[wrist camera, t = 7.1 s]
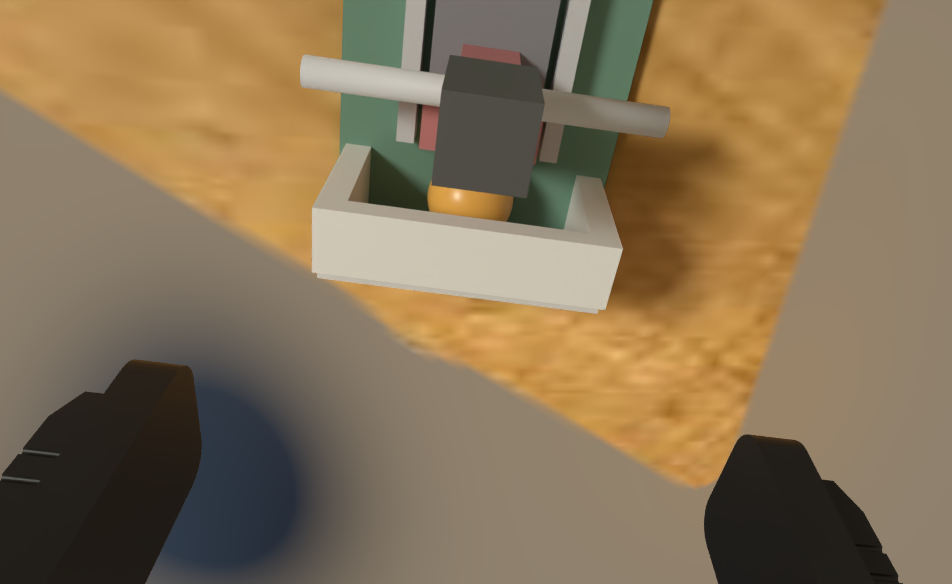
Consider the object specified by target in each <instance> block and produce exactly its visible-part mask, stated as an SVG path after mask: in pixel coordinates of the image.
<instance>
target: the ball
mask: <svg viewBox="0 0 952 584" xmlns="http://www.w3.org/2000/svg"><path fill="white" fill-rule="evenodd" d="M431 183H432V180H431V182H430V185H429V189H428V196H427V199H428V207H429V211H430V212H436V213H443V214H451V215H458V216H465V217H473V218H480V219H488V220H495V221H503V222H506V221H507V220H508V218H509V216H510V213H511V210H512V206H513V197H512V196H505V195H498V194H490V193H483V192H476V191H468V190H461V189H454V188H446V187H439V186H432V185H431Z"/></svg>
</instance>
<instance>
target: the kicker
mask: <svg viewBox="0 0 952 584" xmlns="http://www.w3.org/2000/svg"><path fill="white" fill-rule="evenodd" d="M560 1H561V0H436V7H435V17H434V28H433V38H432V49H431V59H430V70H429V72H423V71H416V70H409V69H402V68H395V67H388V66H382V65H375V64H368V63H361V62H354V61H347V60H340V59H333V58H326V57H319V56H312V55H303V58H302V61H301V67H300V82H301V86H302V87H303V88H310V89H318V90H325V91H332V92H339V93H346V94H353V95H360V96H367V97H374V98H381V99H388V100H395V101H402V102H409V103H416V104H423V109H422V120H421V131H420V142H419V149H425V150H432V151H435V155H434V164H433V173H432V183H431V185H432V186H439V187H446V188H454V189H461V190H468V191H476V192H483V193H490V194H498V195H505V196H512V197H520V198H527V194H528V189H529V184H530V179H531V173H532V168H533V165H535V163H536V158H537V153H538V147H539V142H540V137H541V132H542V127H543V122H550V123H557V124H564V125H571V126H578V127H585V128H592V129H599V130H606V131H613V132H620V133H628V134H635V135H642V136H649V137H656V138H663V137H664V136H665V134H666V132H667V129H668V126H669V121H670V108H669V107H666V106H659V105H652V104H645V103H638V102H631V101H624V100H617V99H610V98H603V97H596V96H589V95H582V94H575V93H569V92H562V91H555V90H548V89H544V85H545V80H546V75H547V69H548V64H549V59H550V53H551V48H552V43H553V38H554V32H555V27H556V22H557V17H558V11H559V6H560Z"/></svg>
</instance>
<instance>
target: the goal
mask: <svg viewBox="0 0 952 584" xmlns="http://www.w3.org/2000/svg"><path fill="white" fill-rule="evenodd" d="M370 161H371V147H370V146H362V145H355V144H348V143H346V145H345V146H344V148H343V150H342V152H341V154H340V156H339V158H338V160H337V162H336V163H335V165H334V167H333V169H332V171H331V173H330V175H329V177H328V179H327V180H326V182H325V184H324V186H323V188H322V190H321V192H320V194H319V196H318V198H317V199H316V201H315V203H314V205H313V207H312V273H317V278H322V279H329V280H337V281H345V282H353V283H361V284H368V285H376V286H384V287H392V288H400V289H408V290H415V291H423V292H431V293H439V294H447V295H454V296H462V297H470V298H478V299H486V300H493V301H501V302H509V303H517V304H525V305H532V306H540V307H548V308H556V309H564V310H572V311H579V312H587V313H595V314H597V313H598V310H599V309H601V310H605V309H606V305H607V302H608V298H609V295H610V292H611V288H612V285H613V281H614V278H615V275H616V271H617V268H618V264H619V261H620V257H621V254H622V251H623V248H622V244H621V241H620V238H619V235H618V232H617V229H616V225H615V222H614V219H613V216H612V213H611V210H610V206H609V203H608V200H607V197H606V194H605V191H604V187H603V184H602V181H601V178H594V177H586V176H579V175H576V179H575V184H574V188H573V192H572V196H571V201H570V205H569V209H568V214H567V218H566V222H565V226H564V230H562V229H555V228H547V227H540V226H533V225H525V224H518V223H510V222H503V221H495V220H488V219H480V218H473V217H465V216H458V215H451V214H443V213H436V212H428V211H421V210H413V209H406V208H398V207H391V206H383V205H376V204H368V200H369V180H370Z"/></svg>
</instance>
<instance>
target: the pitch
mask: <svg viewBox="0 0 952 584" xmlns="http://www.w3.org/2000/svg"><path fill="white" fill-rule="evenodd" d="M652 3H653V0H561V1H560V6H559V11H558V17H557V22H556V27H555V32H554V38H553V43H552V48H551V53H550V59H549V64H548V69H547V75H546V80H545V85H544V89H548V90H555V91H562V92H569V93H575V94H582V95H589V96H596V97H603V98H610V99H617V100H624V101H627V99H628V96H629V92H630V88H631V84H632V80H633V76H634V73H635V69H636V65H637V61H638V57H639V53H640V49H641V46H642V42H643V38H644V34H645V30H646V26H647V23H648V19H649V15H650V11H651V7H652ZM435 7H436V0H343V38H342V60H347V61H354V62H361V63H368V64H375V65H382V66H388V67H395V68H402V69H409V70H416V71H423V72H429V70H430V59H431V49H432V38H433V28H434V17H435ZM422 109H423V104H416V103H409V102H402V101H395V100H388V99H381V98H374V97H367V96H360V95H353V94H346V93H341V119H340V154H341V152H342V150H343V148H344V146H345V145H346V143H348V144H355V145H362V146H370V147H371V161H370V180H369V200H368V204H376V205H383V206H391V207H398V208H406V209H413V210H421V211H428V212H430V211H429V207H428V199H427V196H428V189H429V185H430V182H431V180H432V173H433V164H434V155H435V151H432V150H425V149H419V142H420V131H421V120H422ZM618 134H619V132H613V131H606V130H599V129H592V128H585V127H578V126H571V125H564V124H557V123H550V122H543V127H542V132H541V137H540V142H539V147H538V153H537V158H536V163H535V165H533V168H532V173H531V179H530V184H529V189H528V194H527V198H520V197H513V206H512V210H511V213H510V216H509V218H508V220H507V221H506V222H510V223H518V224H525V225H533V226H540V227H547V228H555V229H562V230H564V226H565V222H566V218H567V214H568V209H569V205H570V201H571V196H572V192H573V188H574V184H575V179H576V175H579V176H586V177H594V178H601V181H602V184H603V187H604V188H605V184H606V180H607V176H608V172H609V169H610V165H611V161H612V157H613V153H614V149H615V146H616V142H617V138H618Z"/></svg>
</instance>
